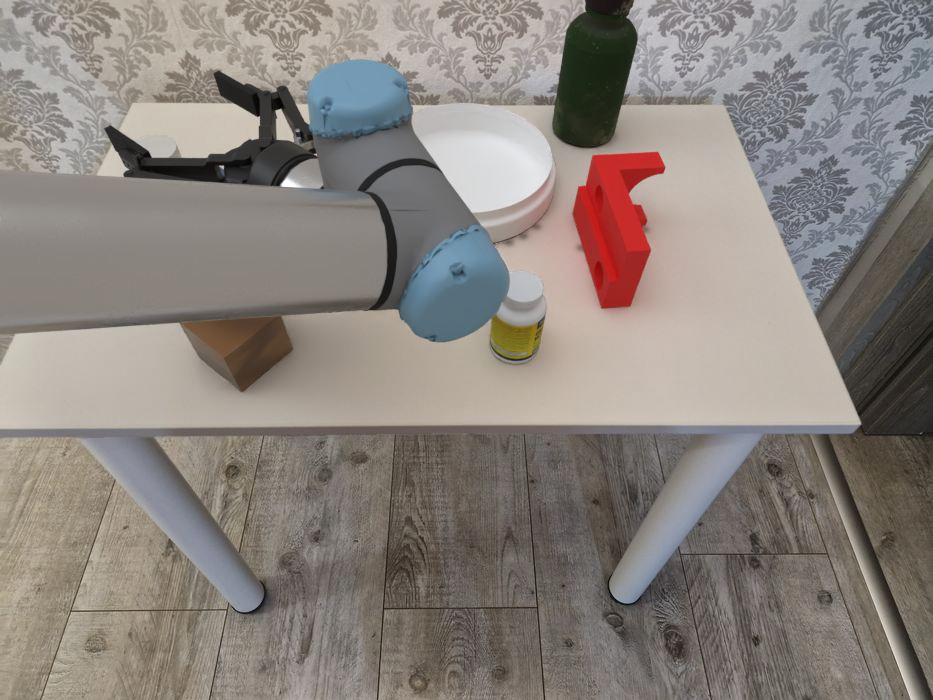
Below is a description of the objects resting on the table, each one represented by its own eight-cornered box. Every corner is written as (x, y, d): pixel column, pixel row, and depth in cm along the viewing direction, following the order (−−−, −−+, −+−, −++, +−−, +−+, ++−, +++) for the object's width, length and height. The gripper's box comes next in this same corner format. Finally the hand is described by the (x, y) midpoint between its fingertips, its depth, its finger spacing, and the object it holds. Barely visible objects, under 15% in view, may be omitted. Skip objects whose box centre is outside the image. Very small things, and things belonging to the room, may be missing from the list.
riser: (241, 392, 71) (223, 358, 66) (198, 356, 74) (177, 320, 68) (293, 349, 75) (280, 313, 69) (250, 316, 78) (234, 279, 72)
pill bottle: (540, 366, 74) (552, 308, 65) (489, 365, 74) (494, 307, 65) (537, 326, 78) (549, 265, 69) (488, 324, 78) (494, 264, 69)
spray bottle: (546, 141, 100) (570, -23, 80) (558, 106, 106) (583, -56, 86) (609, 154, 99) (650, -11, 78) (618, 117, 105) (658, -45, 84)
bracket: (585, 155, 82) (658, 151, 83) (572, 214, 90) (639, 210, 91) (619, 252, 72) (702, 246, 72) (601, 308, 80) (676, 302, 81)
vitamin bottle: (163, 235, 85) (129, 169, 76) (154, 207, 88) (121, 141, 79) (208, 221, 87) (180, 156, 78) (198, 195, 90) (171, 129, 81)
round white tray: (556, 251, 86) (562, 221, 81) (364, 242, 86) (359, 212, 82) (549, 133, 102) (554, 103, 97) (386, 126, 102) (383, 95, 97)
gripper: (209, 293, 57) (80, 194, 64) (393, 163, 69) (265, 92, 76) (181, 233, 51) (41, 131, 58) (388, 102, 62) (250, 31, 70)
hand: (168, 109), depth 67 cm, fingers open, 13 cm apart
